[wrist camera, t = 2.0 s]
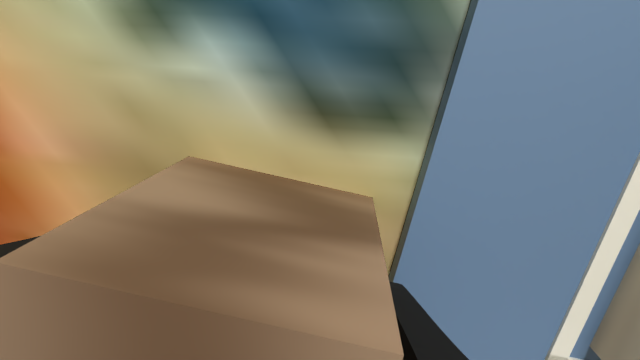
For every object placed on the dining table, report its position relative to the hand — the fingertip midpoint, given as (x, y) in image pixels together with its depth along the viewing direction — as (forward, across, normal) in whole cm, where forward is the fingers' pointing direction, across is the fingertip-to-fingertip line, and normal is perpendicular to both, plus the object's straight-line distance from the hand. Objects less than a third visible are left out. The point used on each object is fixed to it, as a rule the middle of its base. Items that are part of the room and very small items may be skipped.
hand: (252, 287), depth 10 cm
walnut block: (+2, 0, 0) cm, 2 cm away
